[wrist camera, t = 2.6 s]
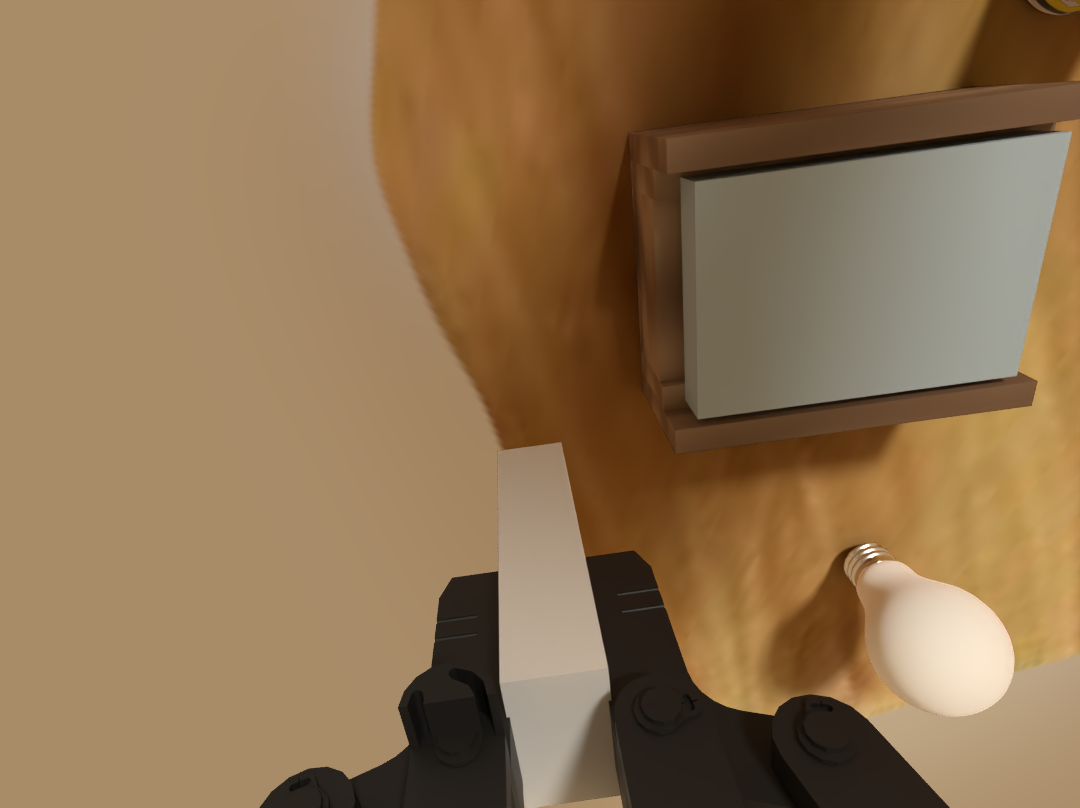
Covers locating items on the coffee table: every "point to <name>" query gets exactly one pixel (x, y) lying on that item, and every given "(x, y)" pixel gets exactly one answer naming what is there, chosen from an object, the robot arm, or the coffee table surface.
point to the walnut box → (790, 140)
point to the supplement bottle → (1057, 6)
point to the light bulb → (929, 636)
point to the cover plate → (864, 271)
